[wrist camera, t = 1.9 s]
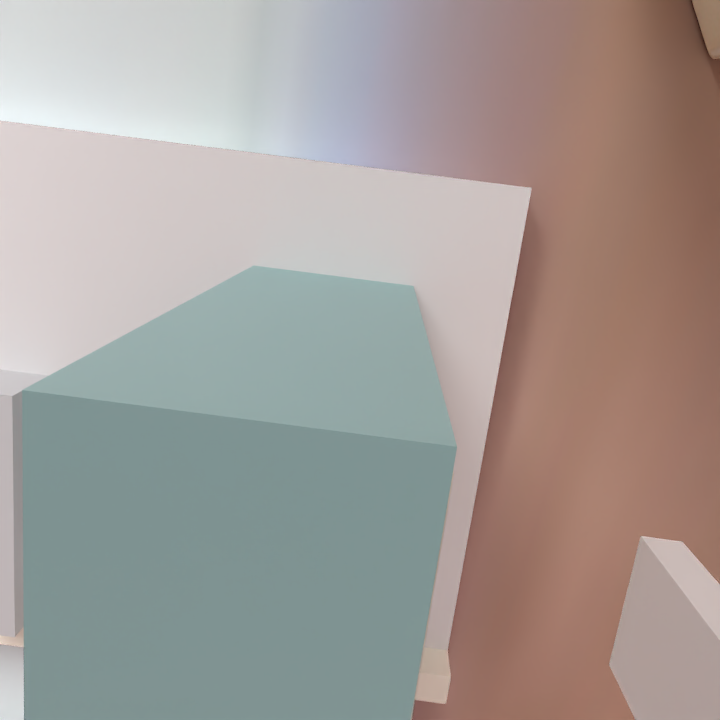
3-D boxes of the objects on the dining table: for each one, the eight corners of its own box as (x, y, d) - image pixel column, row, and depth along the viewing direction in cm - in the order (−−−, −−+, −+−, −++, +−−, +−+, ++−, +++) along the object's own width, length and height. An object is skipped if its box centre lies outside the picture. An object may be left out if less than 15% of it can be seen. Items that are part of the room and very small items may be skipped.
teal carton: (228, 522, 20) (16, 959, 9) (249, 264, 18) (9, 388, 7) (381, 542, 20) (371, 1009, 9) (418, 286, 18) (468, 448, 7)
